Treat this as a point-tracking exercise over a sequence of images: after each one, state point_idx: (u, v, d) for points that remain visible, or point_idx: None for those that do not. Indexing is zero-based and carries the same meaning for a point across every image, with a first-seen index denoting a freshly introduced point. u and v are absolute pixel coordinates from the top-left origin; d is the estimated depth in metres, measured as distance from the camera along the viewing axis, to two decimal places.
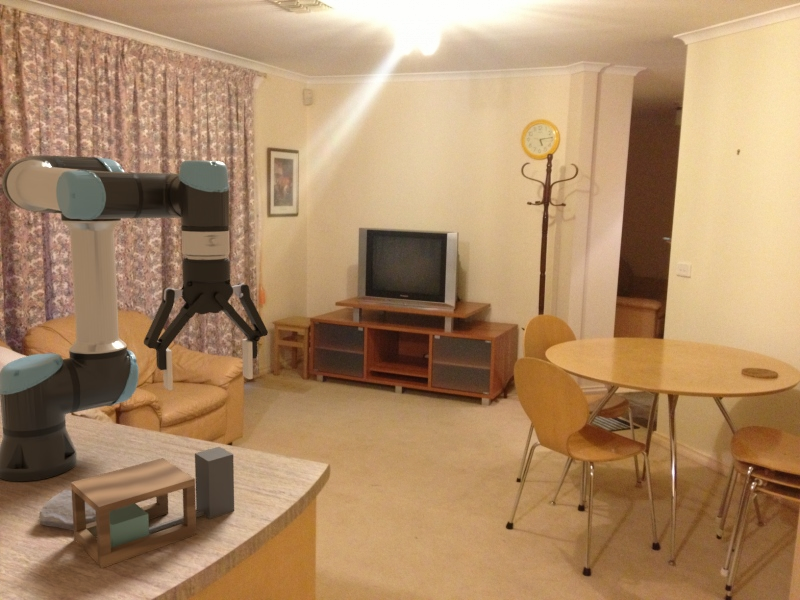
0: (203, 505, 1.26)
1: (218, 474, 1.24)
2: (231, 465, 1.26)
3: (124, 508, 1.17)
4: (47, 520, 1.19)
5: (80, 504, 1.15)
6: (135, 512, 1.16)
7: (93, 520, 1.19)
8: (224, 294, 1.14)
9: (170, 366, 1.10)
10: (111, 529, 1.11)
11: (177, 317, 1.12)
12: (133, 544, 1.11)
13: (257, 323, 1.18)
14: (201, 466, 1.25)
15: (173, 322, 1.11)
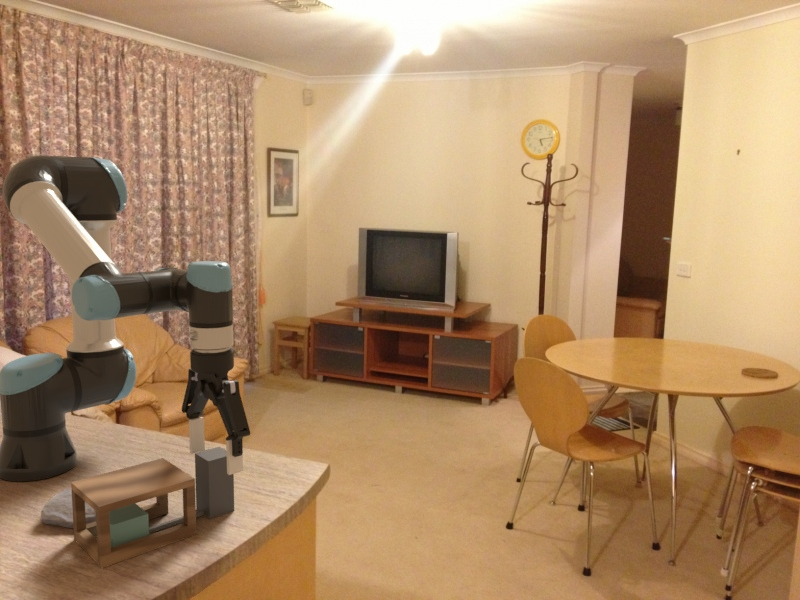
0: (203, 505, 1.26)
1: (218, 474, 1.24)
2: None
3: (124, 508, 1.17)
4: (49, 518, 1.19)
5: (80, 504, 1.15)
6: (135, 512, 1.16)
7: (94, 519, 1.20)
8: (214, 386, 1.21)
9: (190, 433, 1.29)
10: (111, 529, 1.11)
11: None
12: (133, 544, 1.11)
13: (231, 423, 1.18)
14: (201, 466, 1.25)
15: None
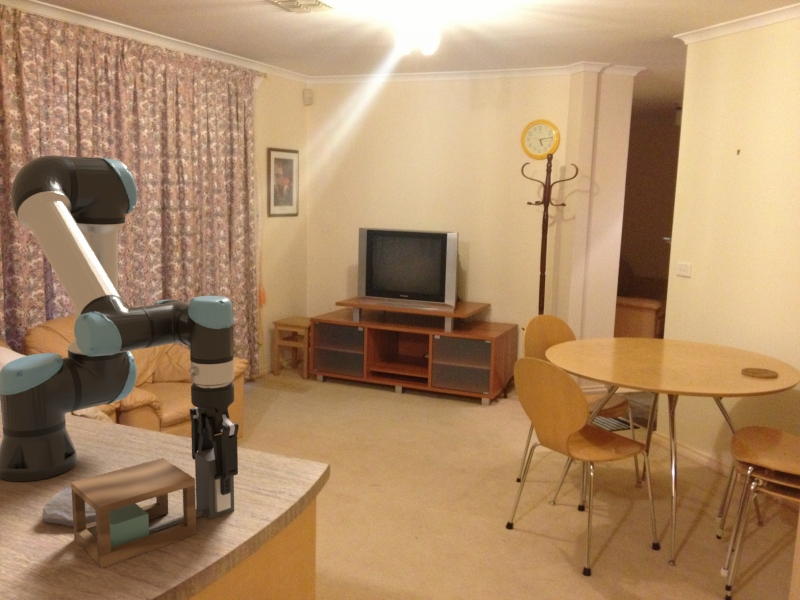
0: (203, 504, 1.26)
1: None
2: None
3: (124, 508, 1.17)
4: (50, 517, 1.20)
5: (80, 504, 1.15)
6: (135, 512, 1.16)
7: None
8: (214, 418, 1.22)
9: None
10: (111, 529, 1.11)
11: None
12: (133, 544, 1.11)
13: (222, 462, 1.22)
14: (201, 466, 1.25)
15: None
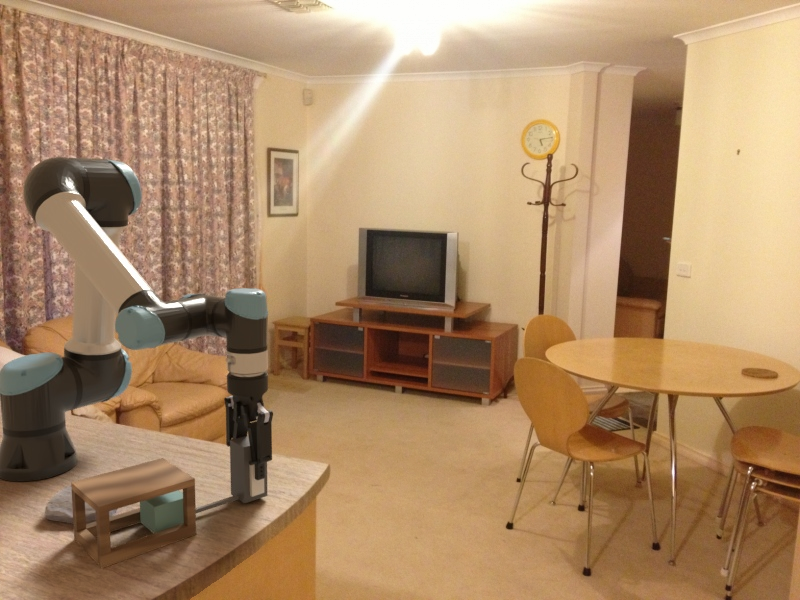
0: (238, 489, 1.30)
1: None
2: None
3: None
4: (53, 514, 1.21)
5: (80, 504, 1.15)
6: (175, 495, 1.21)
7: None
8: (249, 406, 1.27)
9: None
10: (153, 511, 1.16)
11: None
12: (133, 544, 1.11)
13: (257, 448, 1.26)
14: (236, 452, 1.29)
15: None
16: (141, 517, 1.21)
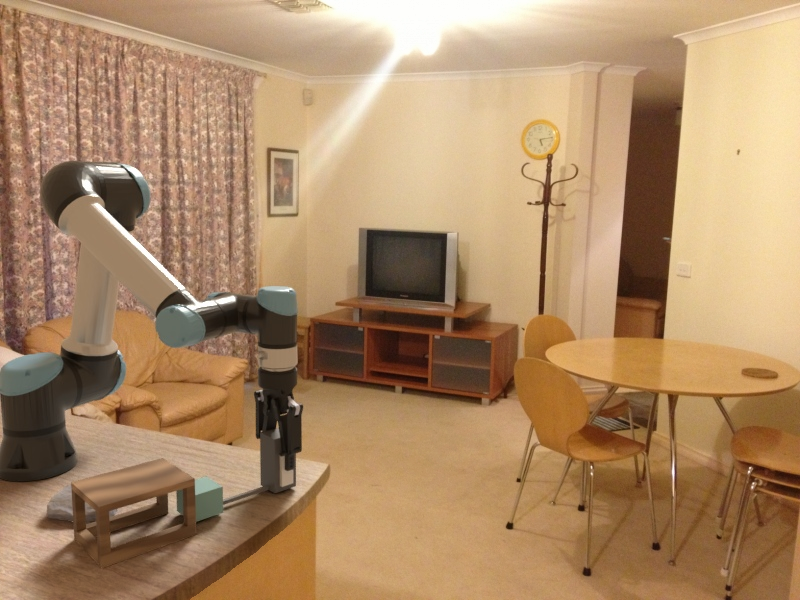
0: (268, 480, 1.35)
1: None
2: None
3: (199, 482, 1.26)
4: (55, 513, 1.21)
5: (80, 504, 1.15)
6: (210, 485, 1.25)
7: None
8: (280, 400, 1.32)
9: None
10: None
11: None
12: (133, 544, 1.11)
13: (288, 440, 1.31)
14: (266, 444, 1.34)
15: None
16: (177, 506, 1.25)
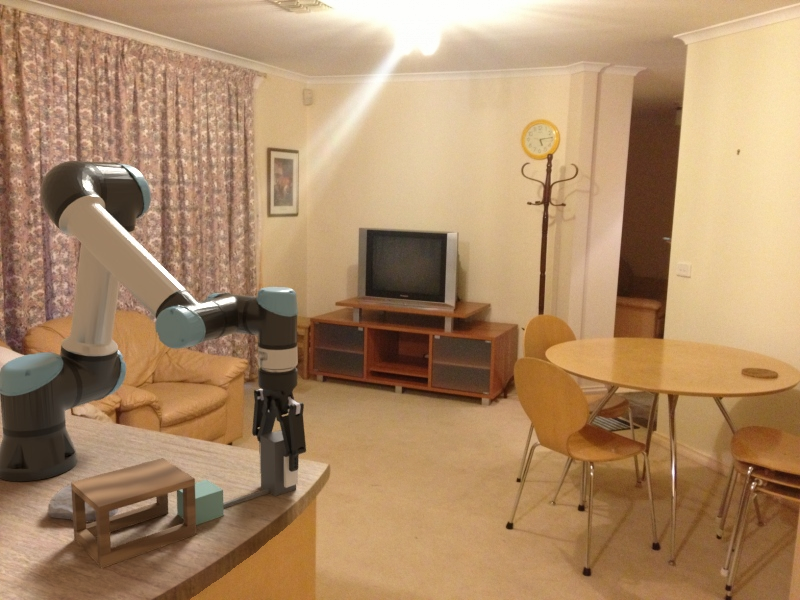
0: (268, 483, 1.35)
1: (282, 455, 1.34)
2: None
3: (200, 485, 1.27)
4: (56, 512, 1.22)
5: (80, 504, 1.15)
6: (210, 488, 1.25)
7: None
8: (280, 401, 1.32)
9: None
10: None
11: None
12: (133, 544, 1.11)
13: (291, 441, 1.30)
14: (267, 447, 1.34)
15: None
16: (178, 509, 1.25)
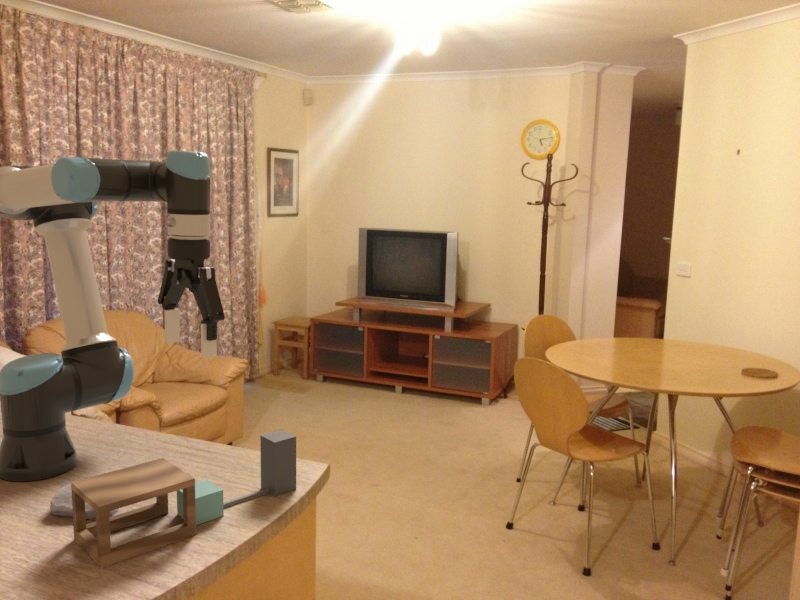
0: (268, 483, 1.35)
1: (282, 455, 1.34)
2: (294, 446, 1.36)
3: (200, 485, 1.27)
4: (58, 509, 1.23)
5: (80, 504, 1.15)
6: (210, 488, 1.25)
7: None
8: (190, 272, 1.25)
9: (165, 323, 1.33)
10: None
11: None
12: (133, 544, 1.11)
13: (207, 307, 1.22)
14: (267, 447, 1.34)
15: None
16: (178, 509, 1.25)
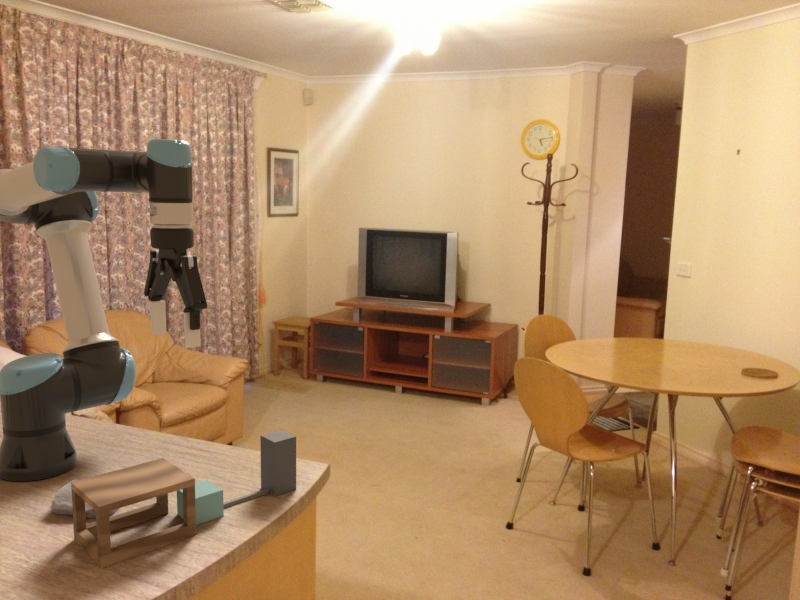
0: (268, 483, 1.35)
1: (282, 455, 1.34)
2: (294, 446, 1.36)
3: (200, 485, 1.27)
4: (60, 508, 1.23)
5: (80, 504, 1.15)
6: (210, 488, 1.25)
7: None
8: (173, 262, 1.24)
9: (151, 315, 1.32)
10: None
11: None
12: (133, 544, 1.11)
13: (189, 295, 1.20)
14: (267, 447, 1.34)
15: None
16: (178, 509, 1.25)
